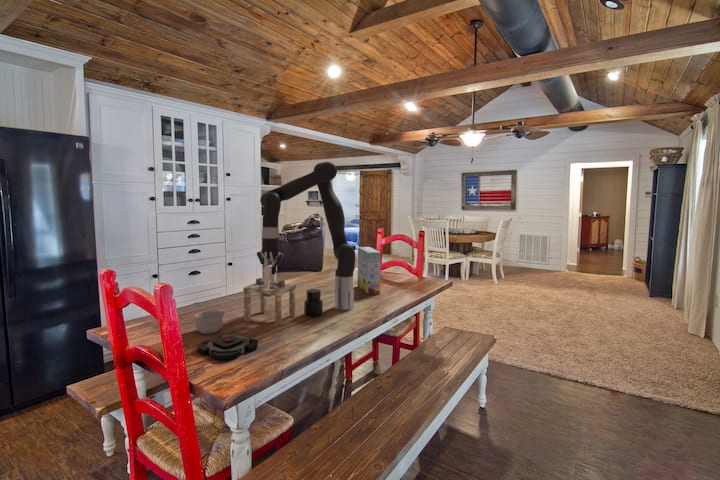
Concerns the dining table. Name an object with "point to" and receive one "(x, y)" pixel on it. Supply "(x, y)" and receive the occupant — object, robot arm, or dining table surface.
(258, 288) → the beige wooden frame
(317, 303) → the ink bottle
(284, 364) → the dining table surface
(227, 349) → the four-lobed dark green device
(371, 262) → the snack box
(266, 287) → the white rectangular prism
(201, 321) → the teacup
